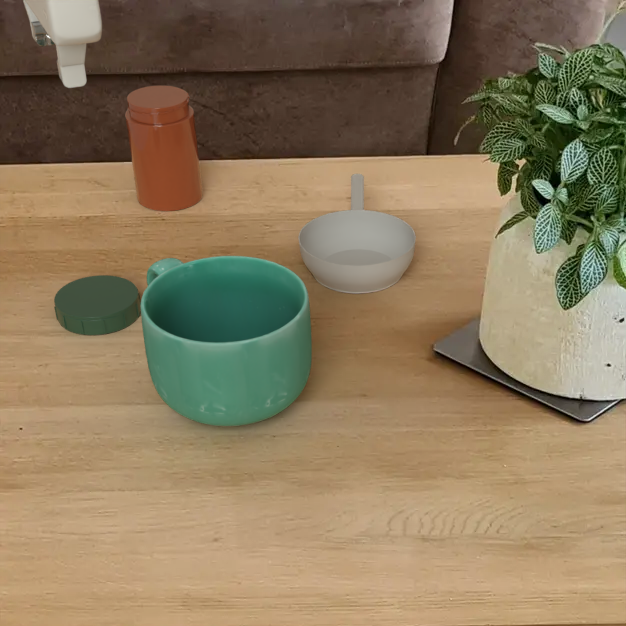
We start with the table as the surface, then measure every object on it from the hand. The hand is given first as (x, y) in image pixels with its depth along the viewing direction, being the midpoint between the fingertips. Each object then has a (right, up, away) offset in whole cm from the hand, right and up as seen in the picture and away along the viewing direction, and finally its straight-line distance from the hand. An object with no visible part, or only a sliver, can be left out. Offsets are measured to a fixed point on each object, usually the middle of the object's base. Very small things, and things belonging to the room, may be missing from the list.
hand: (59, 62), depth 94 cm
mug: (+13, -26, 0) cm, 30 cm away
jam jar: (+3, -5, +26) cm, 26 cm away
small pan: (+23, -12, +18) cm, 32 cm away
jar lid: (+1, -18, +7) cm, 20 cm away
